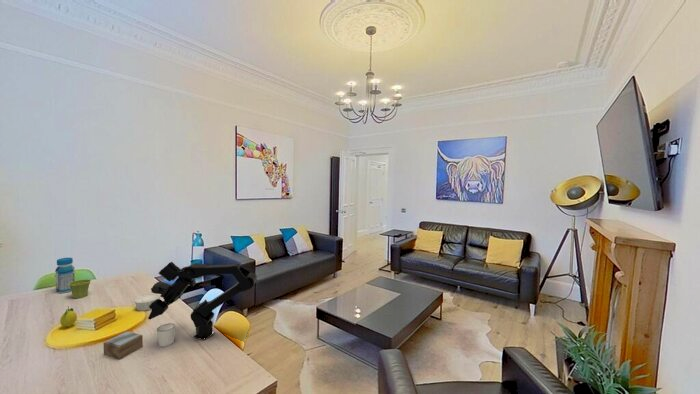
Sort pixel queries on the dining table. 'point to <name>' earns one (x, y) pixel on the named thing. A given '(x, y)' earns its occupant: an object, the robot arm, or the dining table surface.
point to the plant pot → (80, 288)
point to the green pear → (68, 317)
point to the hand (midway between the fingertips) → (155, 313)
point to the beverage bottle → (64, 275)
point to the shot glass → (166, 334)
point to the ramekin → (145, 301)
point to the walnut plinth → (123, 345)
